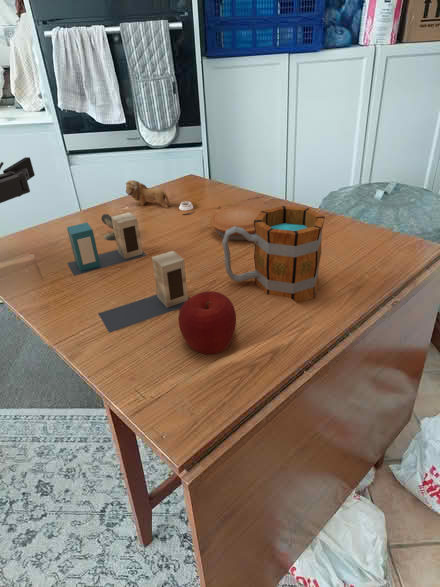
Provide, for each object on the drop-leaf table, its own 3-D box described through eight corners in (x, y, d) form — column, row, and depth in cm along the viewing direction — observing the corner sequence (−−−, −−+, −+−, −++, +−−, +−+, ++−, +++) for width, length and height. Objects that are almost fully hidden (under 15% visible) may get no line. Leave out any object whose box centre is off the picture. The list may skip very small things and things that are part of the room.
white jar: (193, 216, 122) (196, 209, 126) (192, 206, 121) (196, 200, 125) (176, 215, 123) (180, 209, 127) (175, 206, 122) (179, 199, 126)
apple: (170, 354, 72) (164, 306, 67) (202, 324, 79) (198, 278, 74) (218, 373, 68) (215, 323, 62) (247, 340, 75) (246, 292, 69)
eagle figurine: (136, 227, 115) (103, 222, 114) (134, 212, 108) (98, 206, 108) (130, 252, 111) (96, 246, 111) (127, 238, 105) (91, 232, 105)
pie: (278, 239, 107) (279, 221, 105) (218, 248, 105) (217, 230, 102) (258, 217, 120) (259, 199, 117) (205, 224, 117) (203, 207, 115)
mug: (311, 268, 95) (316, 204, 86) (327, 302, 83) (335, 232, 75) (222, 274, 94) (219, 209, 86) (226, 309, 83) (223, 238, 75)
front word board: (99, 319, 82) (97, 313, 81) (180, 293, 88) (179, 287, 88) (110, 339, 76) (108, 332, 76) (195, 309, 83) (194, 303, 82)
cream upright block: (157, 297, 85) (151, 257, 80) (177, 290, 87) (173, 250, 82) (167, 308, 81) (162, 267, 76) (188, 300, 83) (184, 259, 78)
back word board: (68, 268, 99) (66, 262, 99) (137, 249, 106) (136, 244, 105) (75, 281, 94) (74, 275, 93) (147, 261, 101) (146, 255, 100)
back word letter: (118, 252, 102) (111, 216, 97) (135, 247, 104) (129, 212, 99) (124, 259, 99) (118, 223, 94) (143, 254, 101) (137, 218, 96)
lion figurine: (126, 212, 127) (121, 183, 122) (132, 206, 131) (127, 177, 126) (174, 214, 124) (171, 184, 120) (178, 207, 129) (176, 177, 124)
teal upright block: (75, 263, 98) (66, 227, 93) (95, 258, 100) (87, 222, 95) (80, 271, 95) (71, 234, 90) (100, 266, 97) (92, 229, 92)
